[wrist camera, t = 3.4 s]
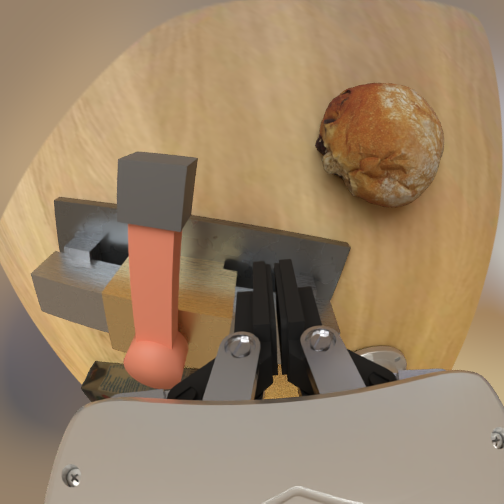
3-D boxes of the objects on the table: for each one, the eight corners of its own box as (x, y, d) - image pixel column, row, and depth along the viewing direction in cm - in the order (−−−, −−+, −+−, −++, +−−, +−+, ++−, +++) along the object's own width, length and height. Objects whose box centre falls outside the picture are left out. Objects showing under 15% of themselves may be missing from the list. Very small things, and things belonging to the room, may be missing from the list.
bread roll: (381, 190, 26) (445, 220, 19) (298, 191, 22) (372, 232, 15) (394, 95, 21) (466, 108, 15) (310, 68, 17) (396, 64, 11)
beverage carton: (92, 356, 34) (75, 390, 28) (219, 364, 33) (214, 408, 27) (113, 389, 37) (101, 420, 31) (228, 397, 36) (225, 436, 30)
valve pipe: (347, 242, 24) (381, 299, 17) (307, 344, 30) (317, 406, 23) (59, 196, 22) (3, 232, 15) (74, 300, 28) (40, 348, 21)
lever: (187, 365, 20) (181, 394, 17) (138, 354, 20) (128, 381, 17) (205, 159, 13) (193, 170, 10) (130, 151, 13) (104, 161, 10)
